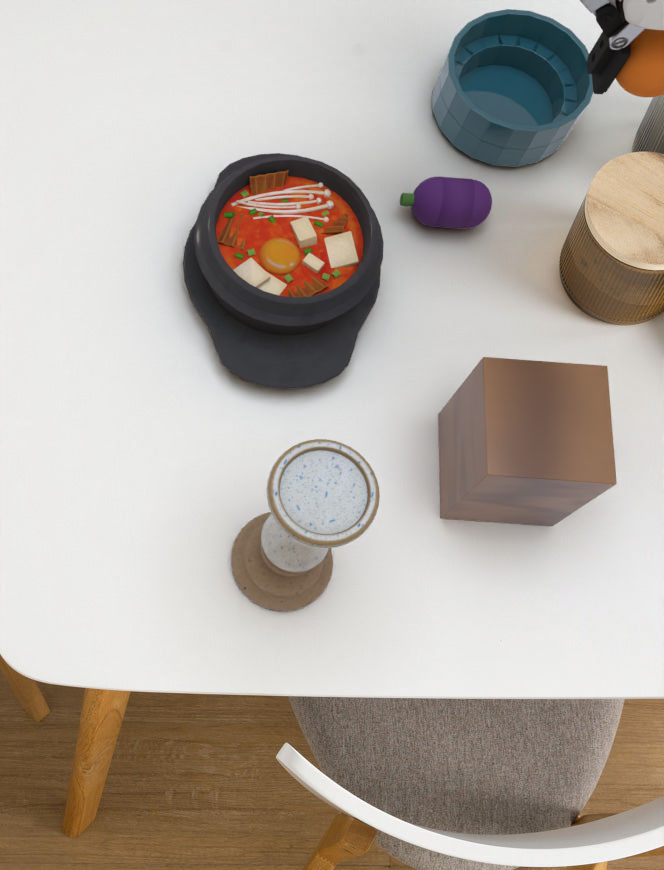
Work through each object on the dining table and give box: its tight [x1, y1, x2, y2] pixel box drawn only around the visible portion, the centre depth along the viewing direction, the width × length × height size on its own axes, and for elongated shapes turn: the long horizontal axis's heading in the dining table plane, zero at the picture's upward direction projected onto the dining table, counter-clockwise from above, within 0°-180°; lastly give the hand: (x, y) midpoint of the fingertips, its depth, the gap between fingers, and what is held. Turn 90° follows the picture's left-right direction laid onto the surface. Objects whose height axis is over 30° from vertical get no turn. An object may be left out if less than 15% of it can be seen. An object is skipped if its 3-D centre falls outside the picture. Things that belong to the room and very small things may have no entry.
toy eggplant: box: [399, 176, 493, 230], centre depth 93 cm, size 9×5×5 cm, turn 86°
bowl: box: [431, 8, 594, 168], centre depth 96 cm, size 14×14×6 cm
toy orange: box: [615, 29, 664, 98], centre depth 65 cm, size 5×5×5 cm
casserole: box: [182, 152, 384, 390], centre depth 88 cm, size 25×19×8 cm
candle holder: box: [230, 438, 381, 612], centre depth 74 cm, size 9×9×20 cm
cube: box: [437, 356, 618, 527], centre depth 81 cm, size 10×10×12 cm
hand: (639, 77), depth 67 cm, fingers closed on toy orange, 5 cm apart
